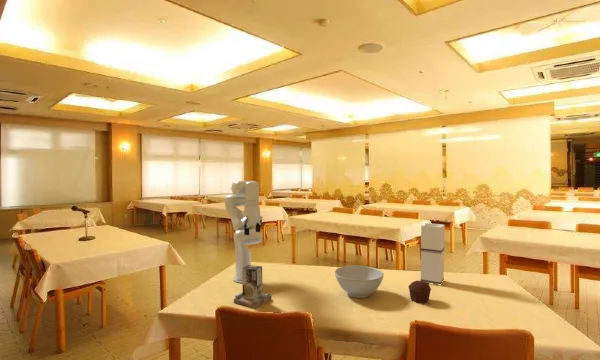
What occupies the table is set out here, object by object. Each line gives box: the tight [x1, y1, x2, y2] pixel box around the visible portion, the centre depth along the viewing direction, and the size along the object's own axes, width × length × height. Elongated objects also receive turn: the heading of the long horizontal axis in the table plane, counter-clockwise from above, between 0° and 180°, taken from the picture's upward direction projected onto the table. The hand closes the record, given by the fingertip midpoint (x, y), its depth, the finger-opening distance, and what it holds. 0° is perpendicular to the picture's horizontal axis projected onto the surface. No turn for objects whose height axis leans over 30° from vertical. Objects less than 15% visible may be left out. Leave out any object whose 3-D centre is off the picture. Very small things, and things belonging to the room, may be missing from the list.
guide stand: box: [233, 291, 272, 309], centre depth 178 cm, size 14×14×4 cm
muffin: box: [408, 280, 432, 304], centre depth 178 cm, size 12×11×10 cm
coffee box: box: [241, 264, 264, 300], centre depth 178 cm, size 9×6×16 cm
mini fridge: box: [420, 222, 445, 284], centre depth 206 cm, size 11×11×35 cm
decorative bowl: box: [334, 264, 384, 299], centre depth 188 cm, size 27×27×12 cm
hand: (252, 233), depth 191 cm, fingers open, 9 cm apart
